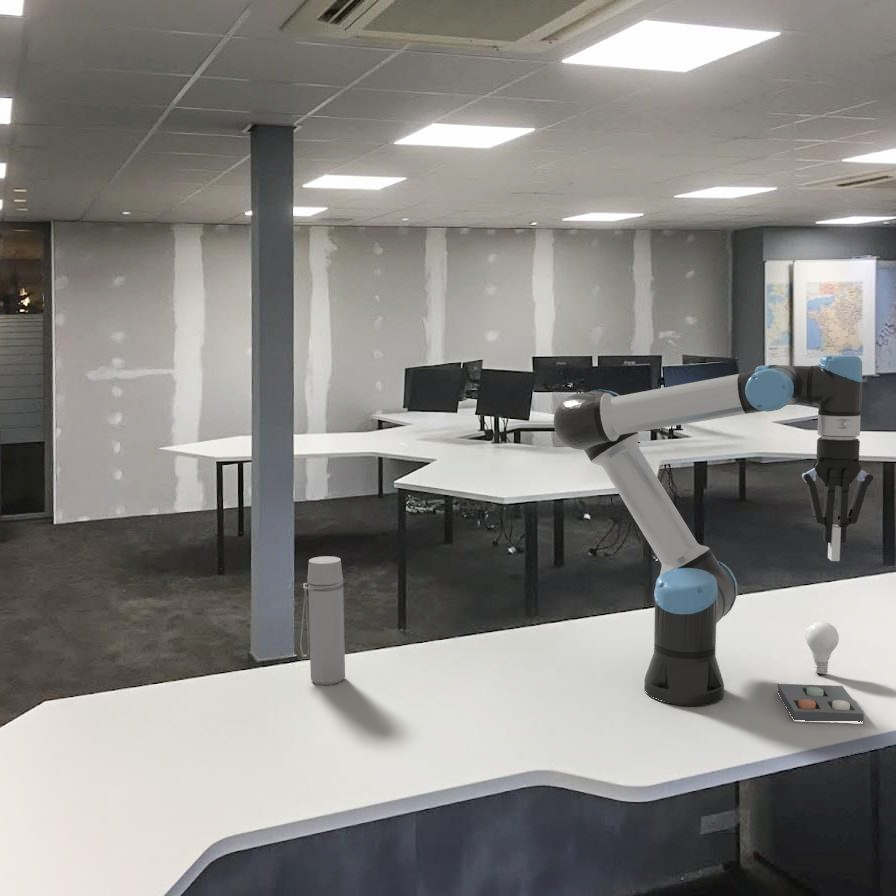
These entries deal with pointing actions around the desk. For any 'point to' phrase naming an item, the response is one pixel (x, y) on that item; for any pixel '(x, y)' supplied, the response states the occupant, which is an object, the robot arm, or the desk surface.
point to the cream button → (840, 705)
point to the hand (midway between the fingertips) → (833, 559)
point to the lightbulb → (821, 644)
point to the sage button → (815, 691)
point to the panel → (819, 703)
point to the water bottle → (325, 620)
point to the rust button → (806, 704)
